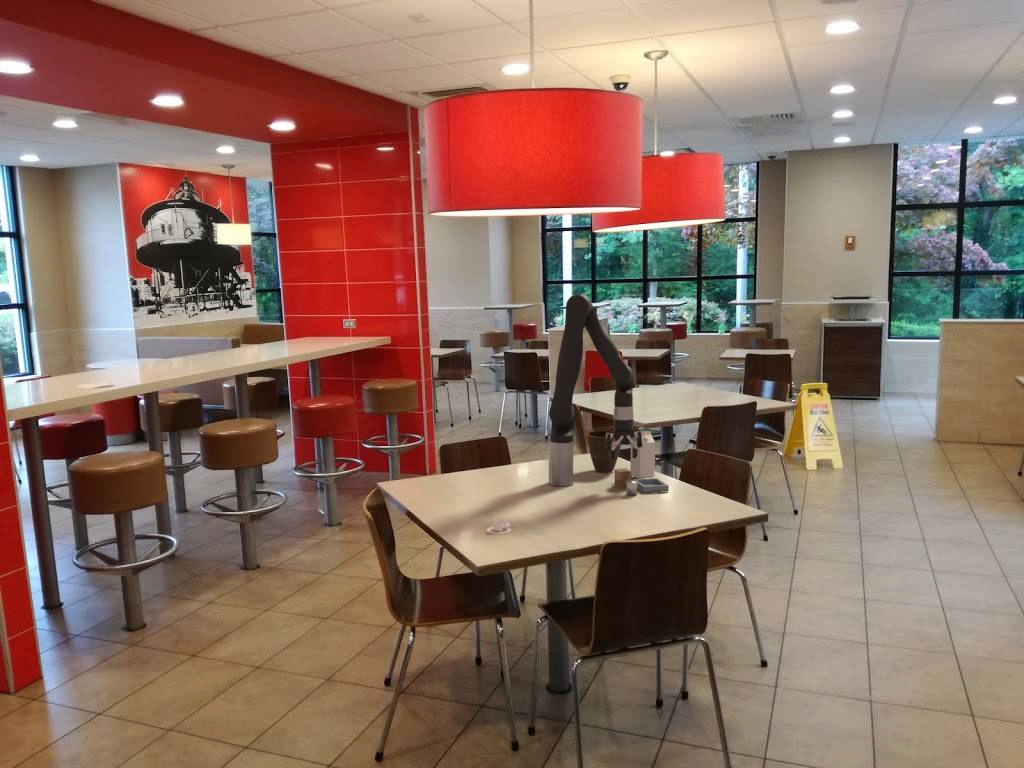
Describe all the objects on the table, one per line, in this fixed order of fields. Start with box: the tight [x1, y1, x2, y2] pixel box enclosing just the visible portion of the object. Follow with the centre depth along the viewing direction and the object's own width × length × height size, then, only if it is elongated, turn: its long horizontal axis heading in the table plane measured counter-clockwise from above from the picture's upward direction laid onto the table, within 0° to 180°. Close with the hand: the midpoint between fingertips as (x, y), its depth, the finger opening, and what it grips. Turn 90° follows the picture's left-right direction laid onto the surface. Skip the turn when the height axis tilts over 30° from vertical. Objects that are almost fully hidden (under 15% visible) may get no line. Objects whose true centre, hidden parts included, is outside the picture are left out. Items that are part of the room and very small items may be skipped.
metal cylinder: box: [625, 479, 638, 497], centre depth 310 cm, size 4×4×5 cm
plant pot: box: [586, 430, 622, 474], centre depth 348 cm, size 15×15×16 cm
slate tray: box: [632, 477, 670, 494], centre depth 319 cm, size 10×12×2 cm
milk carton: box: [629, 430, 656, 479], centre depth 336 cm, size 7×7×19 cm
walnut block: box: [614, 467, 632, 490], centre depth 321 cm, size 5×5×7 cm
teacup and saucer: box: [486, 517, 512, 535], centre depth 267 cm, size 9×8×4 cm
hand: (623, 458), depth 320 cm, fingers open, 8 cm apart
